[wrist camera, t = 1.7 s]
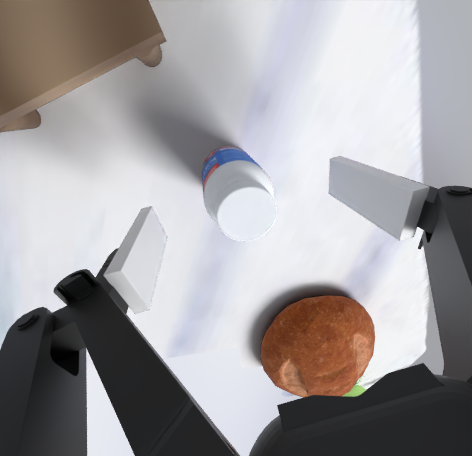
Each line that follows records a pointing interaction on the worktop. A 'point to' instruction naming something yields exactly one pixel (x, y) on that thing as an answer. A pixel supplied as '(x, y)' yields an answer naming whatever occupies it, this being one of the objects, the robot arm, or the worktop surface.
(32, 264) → the worktop surface
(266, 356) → the bread
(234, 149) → the pill bottle
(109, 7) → the small wooden table
